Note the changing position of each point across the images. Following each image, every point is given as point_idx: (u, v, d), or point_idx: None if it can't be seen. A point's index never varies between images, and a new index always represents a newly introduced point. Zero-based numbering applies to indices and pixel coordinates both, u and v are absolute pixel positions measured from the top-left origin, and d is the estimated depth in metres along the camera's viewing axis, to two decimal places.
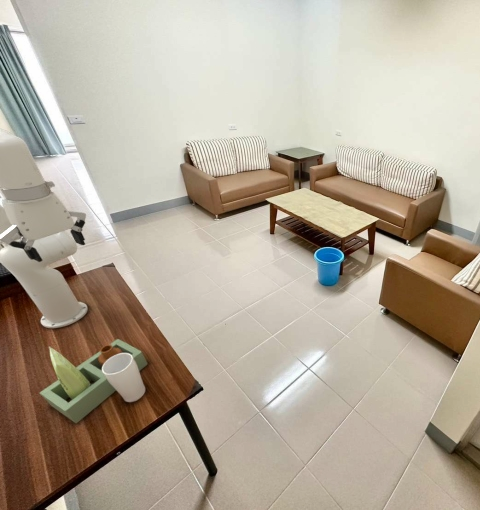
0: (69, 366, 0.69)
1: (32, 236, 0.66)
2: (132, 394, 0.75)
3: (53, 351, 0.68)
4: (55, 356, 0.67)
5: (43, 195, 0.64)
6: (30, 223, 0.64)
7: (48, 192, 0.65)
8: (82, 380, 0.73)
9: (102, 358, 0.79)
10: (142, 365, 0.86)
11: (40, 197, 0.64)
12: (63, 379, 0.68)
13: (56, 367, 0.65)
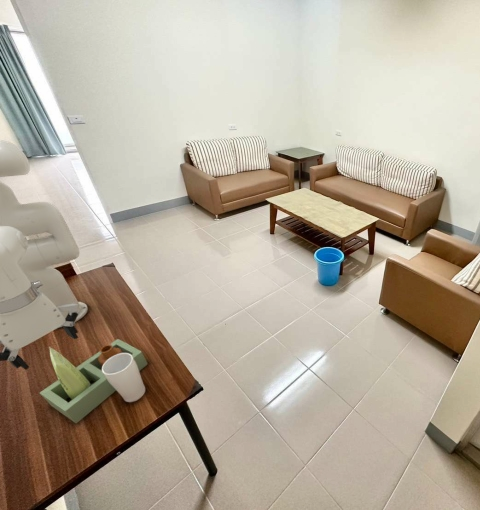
0: (69, 366, 0.69)
1: (16, 346, 0.58)
2: (132, 394, 0.75)
3: (53, 351, 0.68)
4: (55, 356, 0.67)
5: (29, 302, 0.56)
6: (14, 333, 0.57)
7: (35, 296, 0.58)
8: (82, 380, 0.73)
9: (102, 358, 0.79)
10: (142, 365, 0.86)
11: (25, 305, 0.56)
12: (63, 379, 0.68)
13: (56, 367, 0.65)
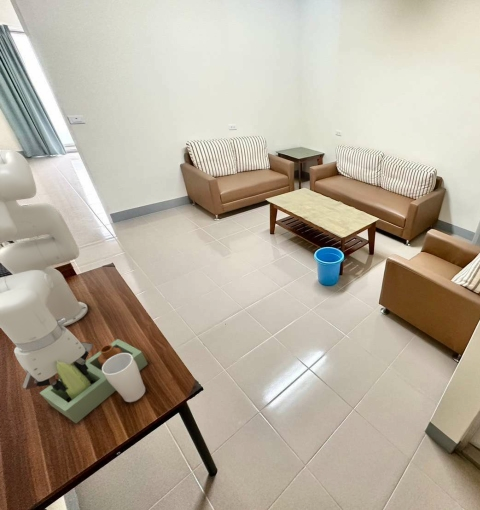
0: (70, 365, 0.69)
1: (44, 377, 0.64)
2: (132, 394, 0.75)
3: None
4: None
5: (55, 339, 0.63)
6: (42, 367, 0.63)
7: (60, 333, 0.64)
8: (83, 380, 0.73)
9: (102, 358, 0.79)
10: (142, 365, 0.86)
11: (52, 342, 0.62)
12: (64, 379, 0.68)
13: (58, 366, 0.66)
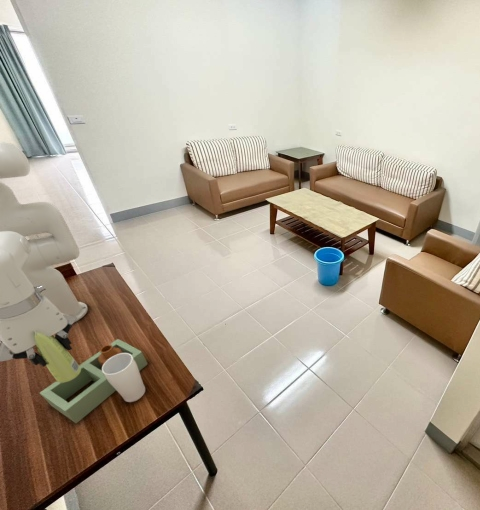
0: (51, 338, 0.64)
1: (20, 349, 0.59)
2: (132, 394, 0.75)
3: None
4: None
5: (32, 306, 0.57)
6: (18, 337, 0.58)
7: (38, 300, 0.59)
8: (65, 355, 0.67)
9: (102, 358, 0.79)
10: (142, 365, 0.86)
11: (29, 310, 0.57)
12: (43, 352, 0.63)
13: (36, 337, 0.60)
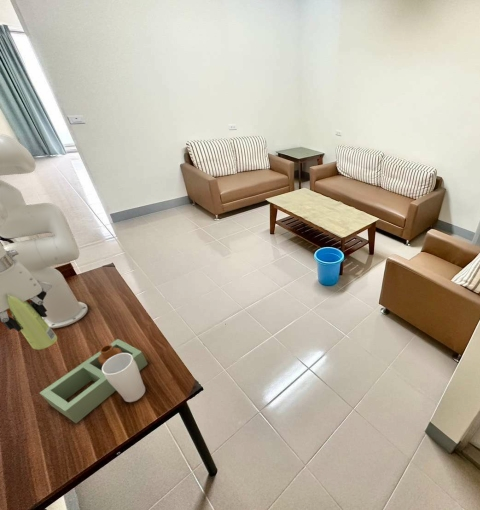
0: (25, 303, 0.66)
1: None
2: (132, 394, 0.75)
3: None
4: None
5: (4, 268, 0.59)
6: None
7: (10, 263, 0.60)
8: (40, 321, 0.69)
9: (102, 358, 0.79)
10: (142, 365, 0.86)
11: (0, 271, 0.59)
12: (17, 316, 0.65)
13: (9, 300, 0.62)
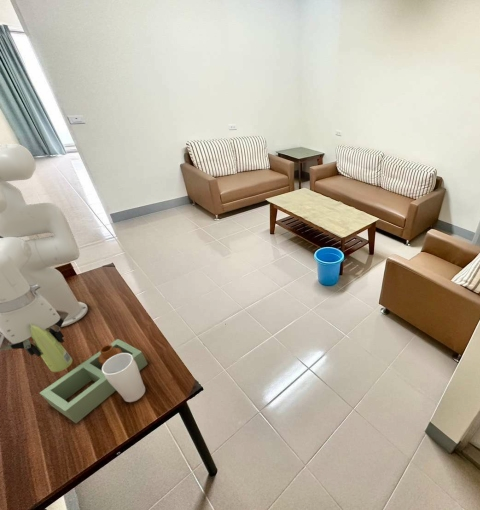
0: (45, 331, 0.72)
1: (18, 340, 0.68)
2: (132, 394, 0.75)
3: None
4: None
5: (28, 302, 0.66)
6: (15, 329, 0.66)
7: (33, 297, 0.67)
8: (58, 346, 0.76)
9: (102, 358, 0.79)
10: (142, 365, 0.86)
11: (25, 305, 0.66)
12: (38, 343, 0.71)
13: (31, 329, 0.69)
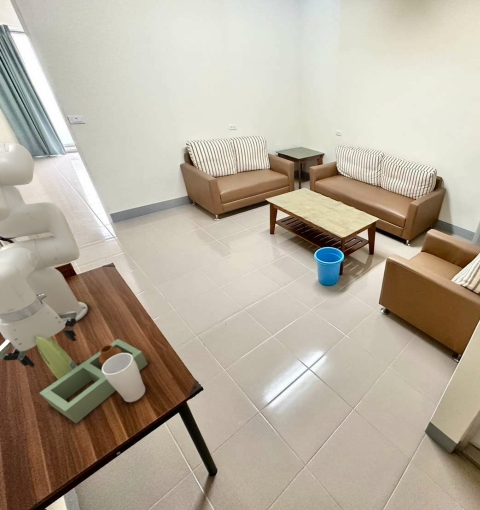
0: (50, 341, 0.74)
1: (24, 348, 0.69)
2: (132, 394, 0.75)
3: None
4: None
5: (35, 311, 0.68)
6: (22, 337, 0.68)
7: (40, 306, 0.69)
8: (63, 356, 0.78)
9: (102, 358, 0.79)
10: (142, 365, 0.86)
11: (32, 314, 0.67)
12: (44, 353, 0.73)
13: (37, 341, 0.71)
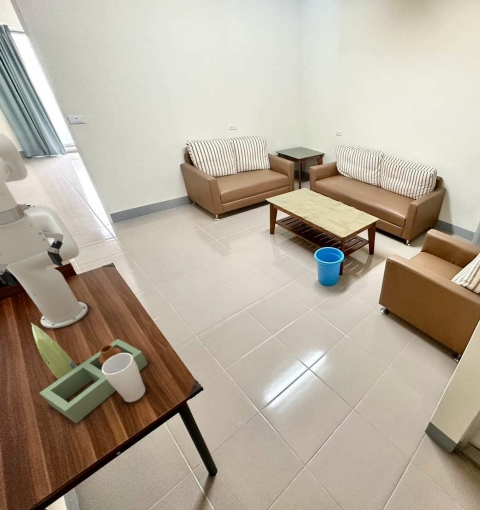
0: (50, 341, 0.74)
1: (4, 261, 0.64)
2: (132, 394, 0.75)
3: (35, 327, 0.73)
4: (37, 331, 0.73)
5: (15, 219, 0.62)
6: (2, 248, 0.63)
7: (21, 215, 0.64)
8: (63, 356, 0.78)
9: (102, 358, 0.79)
10: (142, 365, 0.86)
11: (12, 221, 0.62)
12: (44, 353, 0.73)
13: (37, 341, 0.71)
